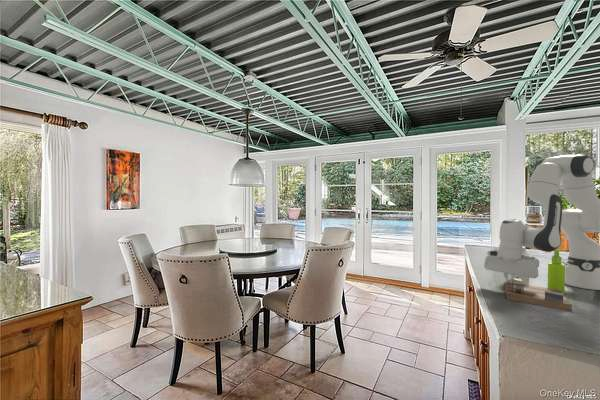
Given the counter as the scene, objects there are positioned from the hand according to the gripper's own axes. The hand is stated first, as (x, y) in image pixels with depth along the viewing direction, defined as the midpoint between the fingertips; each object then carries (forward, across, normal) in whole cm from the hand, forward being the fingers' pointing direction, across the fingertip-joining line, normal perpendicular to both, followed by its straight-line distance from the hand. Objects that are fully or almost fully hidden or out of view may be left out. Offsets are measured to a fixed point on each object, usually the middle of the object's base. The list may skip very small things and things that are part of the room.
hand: (509, 283), depth 129 cm
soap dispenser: (+4, -15, -18) cm, 23 cm away
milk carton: (+4, 0, -16) cm, 17 cm away
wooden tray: (+4, -9, +2) cm, 10 cm away
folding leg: (+1, -4, +3) cm, 5 cm away
